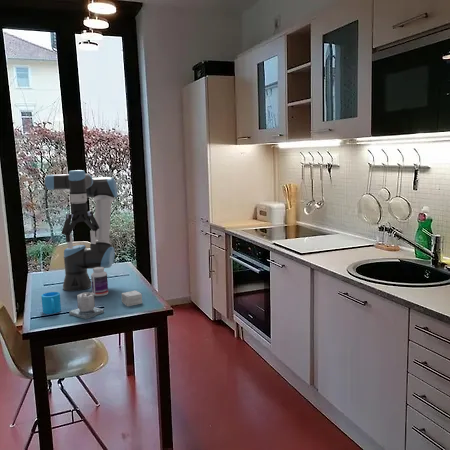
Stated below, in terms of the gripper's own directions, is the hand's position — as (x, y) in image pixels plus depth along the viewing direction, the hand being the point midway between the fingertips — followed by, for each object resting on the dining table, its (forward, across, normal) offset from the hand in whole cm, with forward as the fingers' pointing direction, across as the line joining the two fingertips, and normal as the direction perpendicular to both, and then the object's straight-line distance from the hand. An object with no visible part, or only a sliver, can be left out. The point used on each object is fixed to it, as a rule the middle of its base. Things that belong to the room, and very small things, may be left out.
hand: (82, 246), depth 220 cm
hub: (+26, -10, -13) cm, 31 cm away
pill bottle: (+29, +13, +5) cm, 32 cm away
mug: (+29, -17, +3) cm, 34 cm away
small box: (+29, +12, -20) cm, 37 cm away
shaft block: (+29, -10, -13) cm, 33 cm away
